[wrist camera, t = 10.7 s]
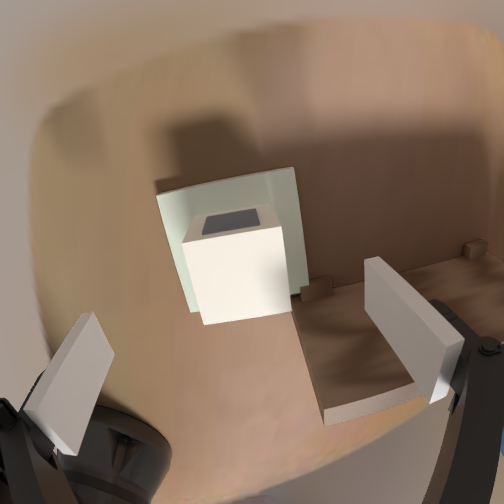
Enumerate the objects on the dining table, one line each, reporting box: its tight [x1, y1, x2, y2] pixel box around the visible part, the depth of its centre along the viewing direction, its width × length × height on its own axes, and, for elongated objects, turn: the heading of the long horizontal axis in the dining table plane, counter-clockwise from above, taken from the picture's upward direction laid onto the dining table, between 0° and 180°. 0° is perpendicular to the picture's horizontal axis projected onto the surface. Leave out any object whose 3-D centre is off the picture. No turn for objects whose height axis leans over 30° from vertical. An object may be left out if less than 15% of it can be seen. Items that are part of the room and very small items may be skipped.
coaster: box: [156, 167, 309, 312], centre depth 21 cm, size 9×9×1 cm
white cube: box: [182, 203, 292, 325], centre depth 18 cm, size 5×5×5 cm
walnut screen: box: [290, 239, 504, 426], centre depth 18 cm, size 20×4×11 cm, turn 100°
